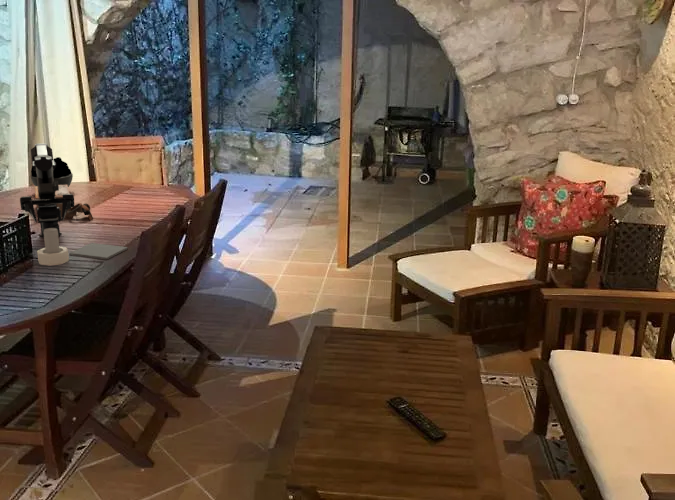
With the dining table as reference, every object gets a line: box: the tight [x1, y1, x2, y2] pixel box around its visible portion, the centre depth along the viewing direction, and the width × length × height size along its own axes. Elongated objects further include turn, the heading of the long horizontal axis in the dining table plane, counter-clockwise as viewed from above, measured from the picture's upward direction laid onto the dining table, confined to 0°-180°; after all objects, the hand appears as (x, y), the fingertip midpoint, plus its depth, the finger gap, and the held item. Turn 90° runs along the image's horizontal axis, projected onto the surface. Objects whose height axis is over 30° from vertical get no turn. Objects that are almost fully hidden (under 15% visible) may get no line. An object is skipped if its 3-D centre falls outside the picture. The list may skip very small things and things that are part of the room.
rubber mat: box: [69, 242, 128, 260], centre depth 261 cm, size 16×14×1 cm
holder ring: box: [36, 246, 70, 267], centre depth 249 cm, size 10×10×4 cm
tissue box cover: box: [34, 185, 71, 219], centre depth 316 cm, size 26×14×10 cm, turn 24°
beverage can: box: [43, 228, 60, 254], centre depth 248 cm, size 5×5×12 cm
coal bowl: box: [30, 157, 74, 188], centre depth 347 cm, size 20×20×19 cm
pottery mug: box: [68, 202, 94, 221], centre depth 306 cm, size 12×10×8 cm
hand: (49, 221), depth 252 cm, fingers open, 9 cm apart
